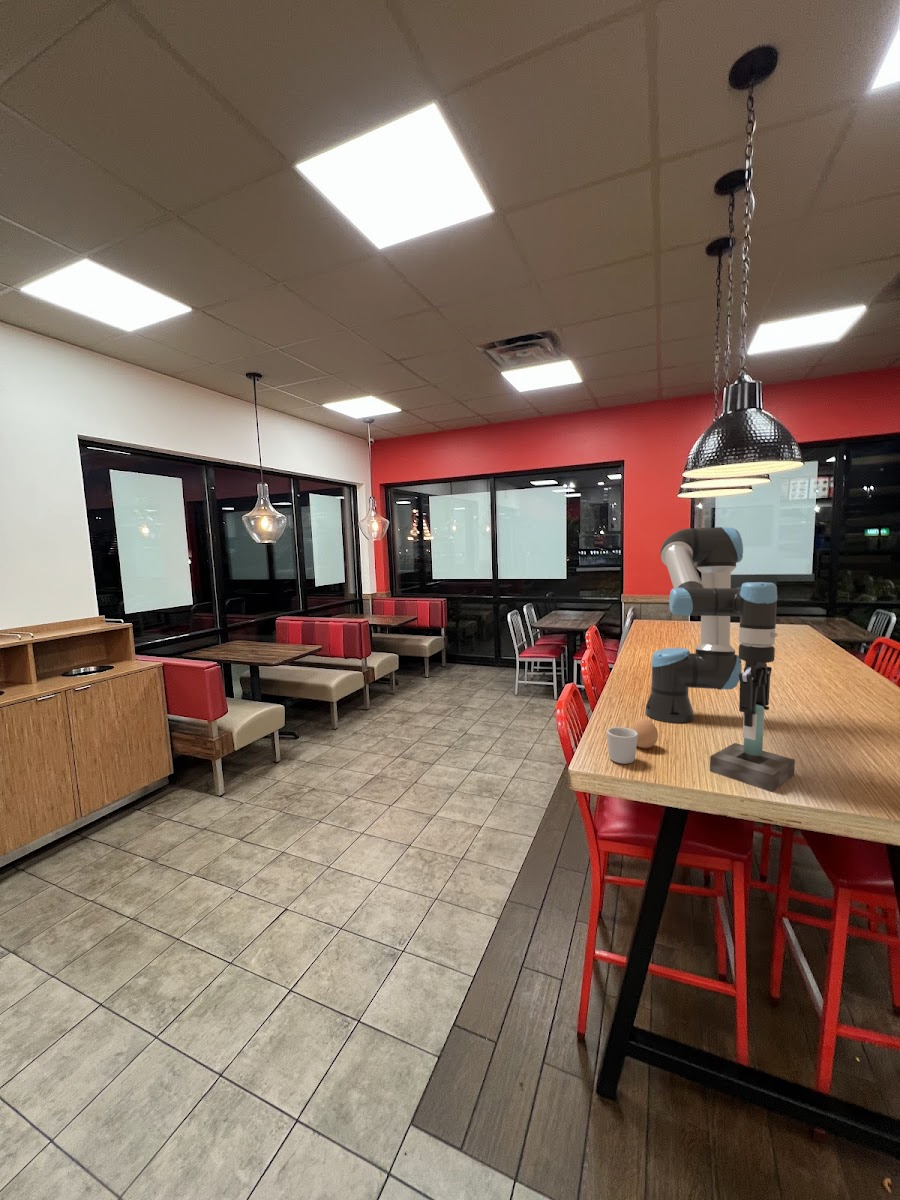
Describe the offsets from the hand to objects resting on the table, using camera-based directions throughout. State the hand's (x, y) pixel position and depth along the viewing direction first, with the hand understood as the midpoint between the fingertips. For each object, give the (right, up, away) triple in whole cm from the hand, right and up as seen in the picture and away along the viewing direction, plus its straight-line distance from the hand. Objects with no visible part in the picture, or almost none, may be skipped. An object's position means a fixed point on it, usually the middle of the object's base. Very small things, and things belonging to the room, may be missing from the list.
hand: (753, 736), depth 119 cm
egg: (-20, -9, +18) cm, 29 cm away
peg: (0, -4, 0) cm, 4 cm away
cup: (-30, -9, +11) cm, 33 cm away
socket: (0, -10, +1) cm, 10 cm away
